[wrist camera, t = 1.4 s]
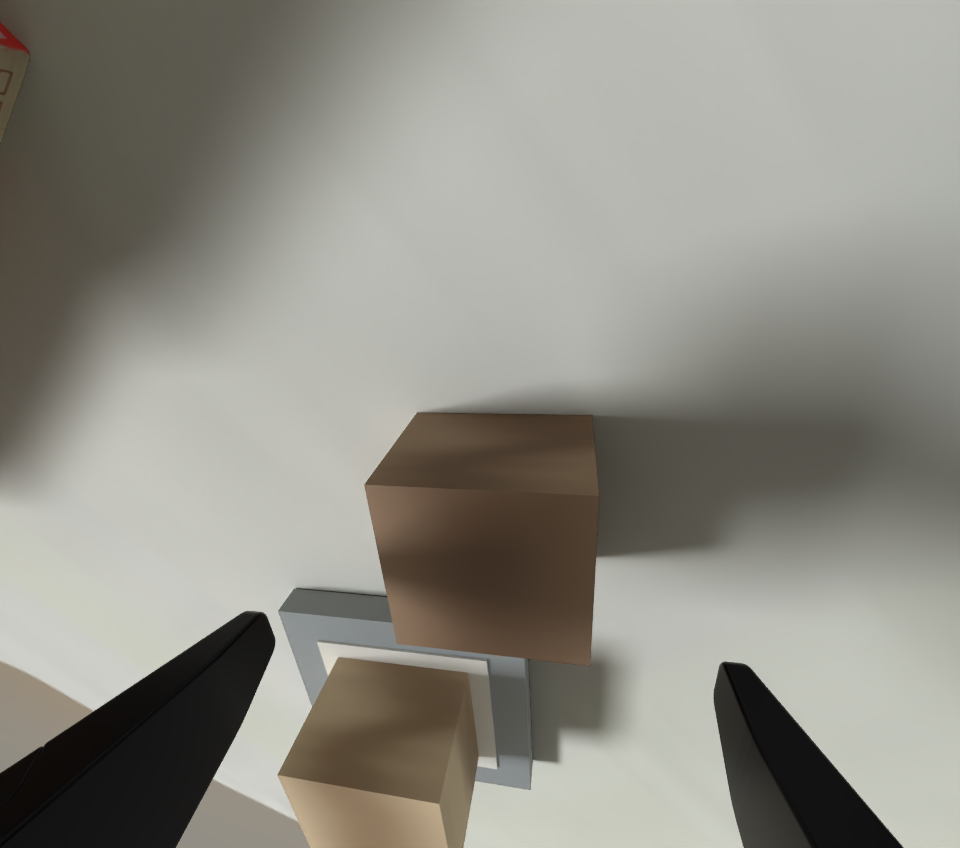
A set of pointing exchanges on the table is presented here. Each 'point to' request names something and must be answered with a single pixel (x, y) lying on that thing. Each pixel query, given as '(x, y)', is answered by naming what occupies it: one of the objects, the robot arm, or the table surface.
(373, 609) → the grey flat square
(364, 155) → the table surface
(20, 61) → the stack of blocks
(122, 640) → the table surface
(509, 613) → the walnut block
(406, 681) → the oak block
